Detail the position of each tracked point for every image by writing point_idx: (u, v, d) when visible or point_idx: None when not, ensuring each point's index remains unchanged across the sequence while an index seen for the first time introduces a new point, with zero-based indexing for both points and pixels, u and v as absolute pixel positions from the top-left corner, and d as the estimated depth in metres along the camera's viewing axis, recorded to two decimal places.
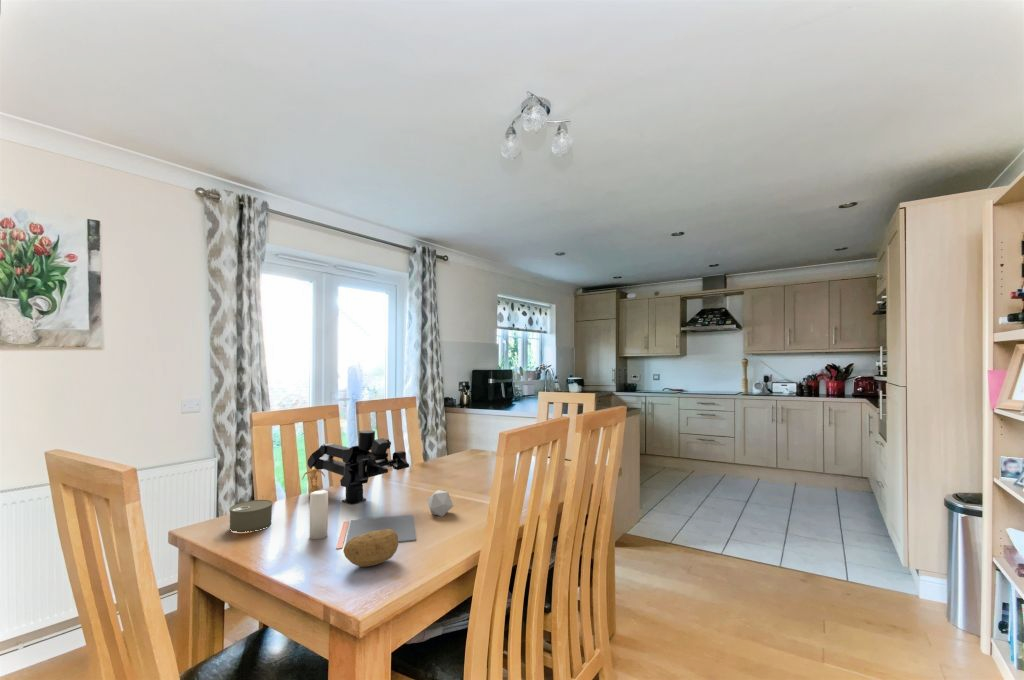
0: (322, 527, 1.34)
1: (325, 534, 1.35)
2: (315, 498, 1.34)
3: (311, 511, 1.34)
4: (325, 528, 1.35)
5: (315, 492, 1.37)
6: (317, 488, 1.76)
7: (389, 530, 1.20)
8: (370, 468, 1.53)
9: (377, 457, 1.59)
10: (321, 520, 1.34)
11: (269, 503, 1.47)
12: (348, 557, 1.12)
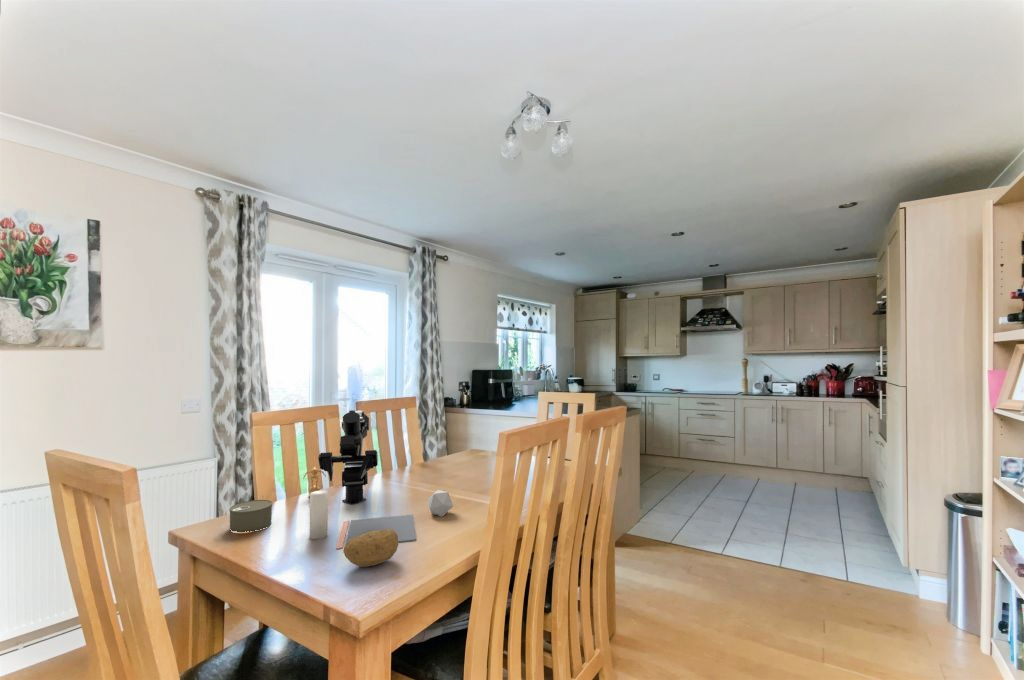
0: (322, 527, 1.34)
1: (325, 534, 1.35)
2: (315, 498, 1.34)
3: (311, 511, 1.34)
4: (325, 528, 1.35)
5: (315, 492, 1.37)
6: (317, 488, 1.76)
7: (389, 530, 1.20)
8: (326, 465, 1.49)
9: (343, 452, 1.51)
10: (321, 520, 1.34)
11: (269, 503, 1.47)
12: (348, 557, 1.12)
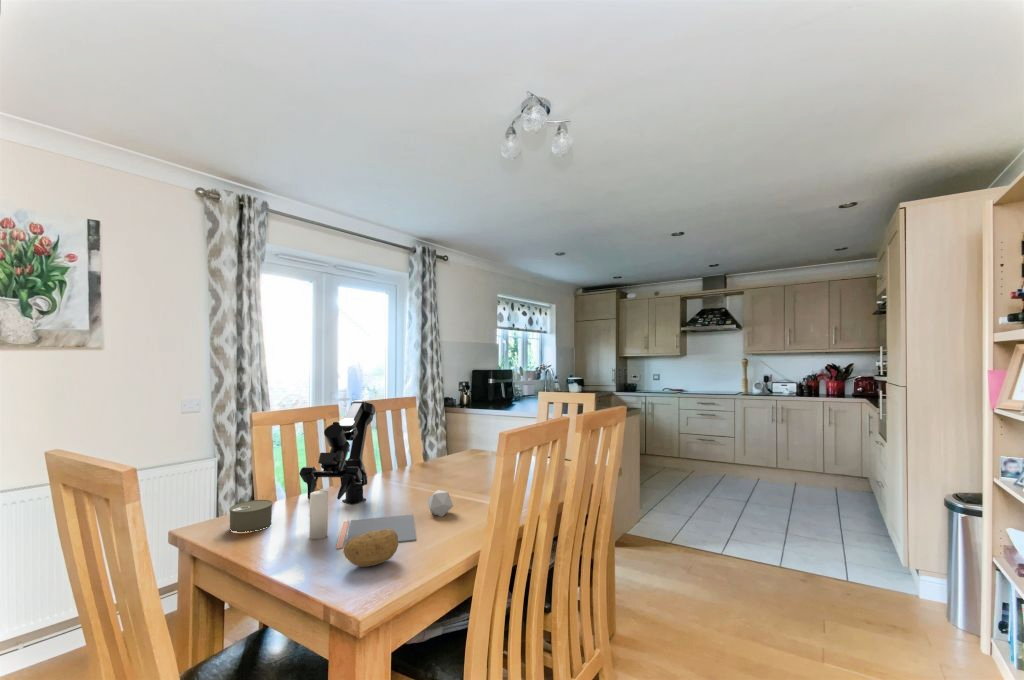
0: (322, 527, 1.34)
1: (325, 534, 1.35)
2: (315, 498, 1.34)
3: (311, 511, 1.34)
4: (325, 528, 1.35)
5: (315, 492, 1.37)
6: (317, 488, 1.76)
7: (389, 530, 1.20)
8: None
9: (325, 467, 1.45)
10: (321, 520, 1.34)
11: (269, 503, 1.47)
12: (348, 557, 1.12)
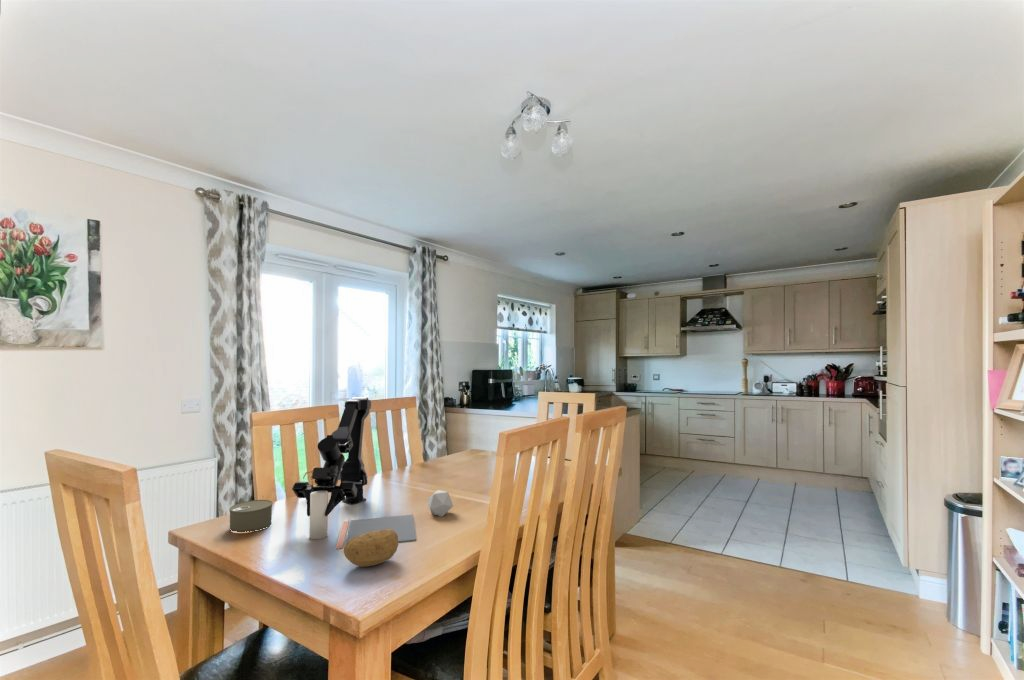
0: (322, 527, 1.34)
1: (325, 534, 1.35)
2: (315, 498, 1.34)
3: (311, 511, 1.34)
4: (325, 528, 1.35)
5: (315, 492, 1.37)
6: None
7: (389, 530, 1.20)
8: None
9: (318, 482, 1.40)
10: (321, 520, 1.34)
11: (269, 503, 1.47)
12: (348, 557, 1.12)
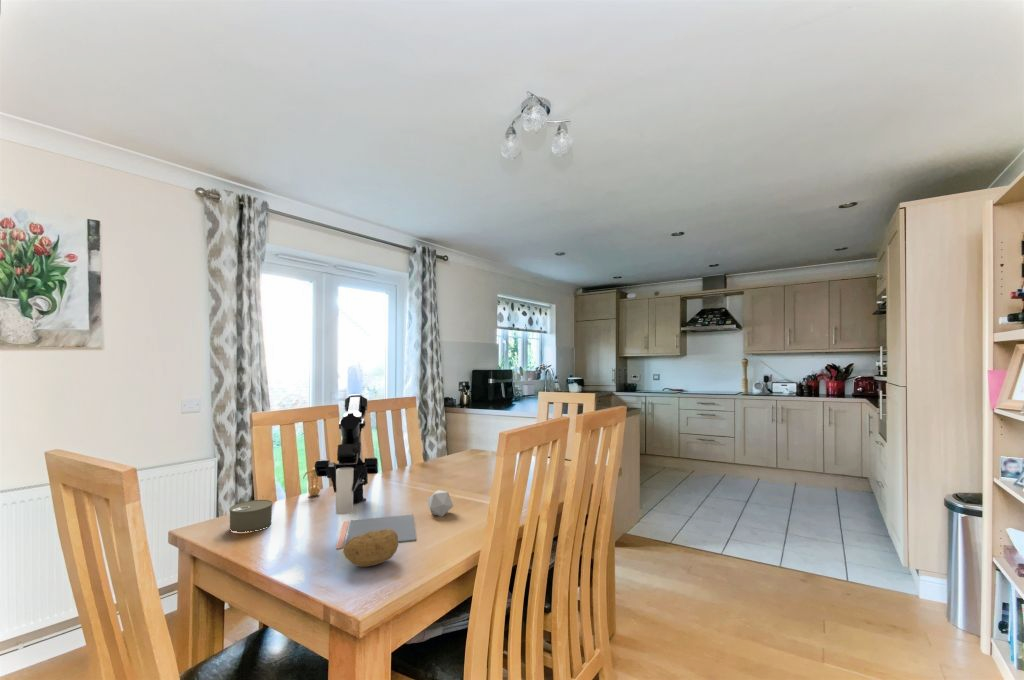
0: (350, 502, 1.36)
1: (352, 509, 1.37)
2: (343, 473, 1.35)
3: (338, 487, 1.35)
4: (352, 503, 1.37)
5: (340, 468, 1.38)
6: (317, 488, 1.76)
7: (389, 530, 1.20)
8: (330, 473, 1.40)
9: (341, 460, 1.41)
10: (348, 496, 1.36)
11: (269, 503, 1.47)
12: (348, 557, 1.12)
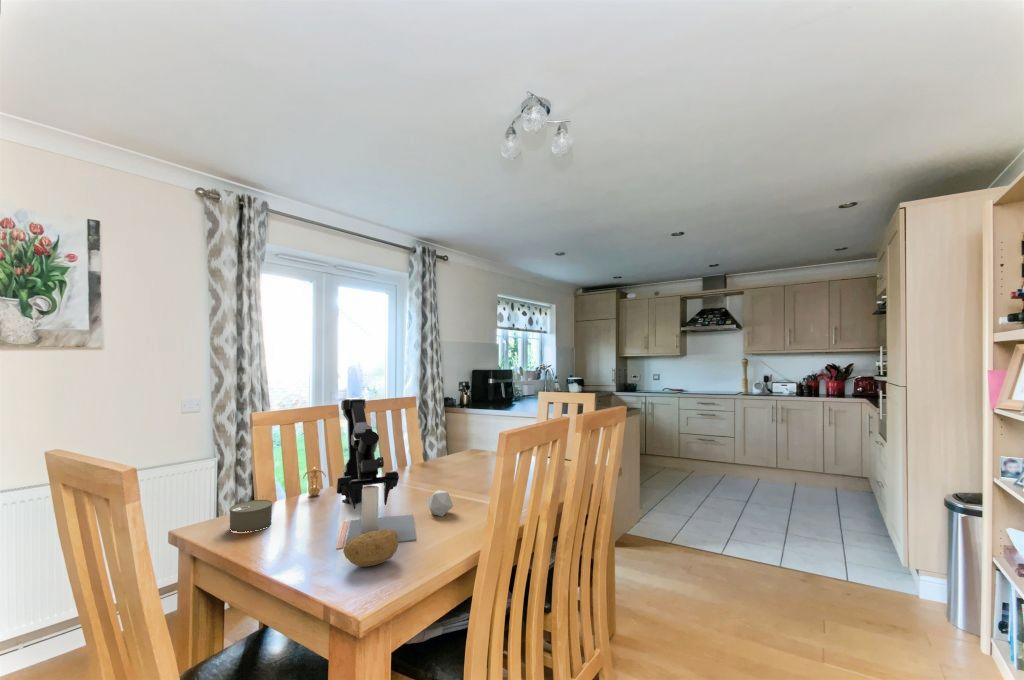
0: (376, 520, 1.39)
1: (377, 527, 1.40)
2: (371, 492, 1.38)
3: (366, 506, 1.37)
4: (377, 521, 1.40)
5: (365, 488, 1.40)
6: (317, 488, 1.76)
7: (389, 530, 1.20)
8: (346, 490, 1.40)
9: (362, 475, 1.42)
10: (375, 514, 1.38)
11: (269, 503, 1.47)
12: (348, 557, 1.12)
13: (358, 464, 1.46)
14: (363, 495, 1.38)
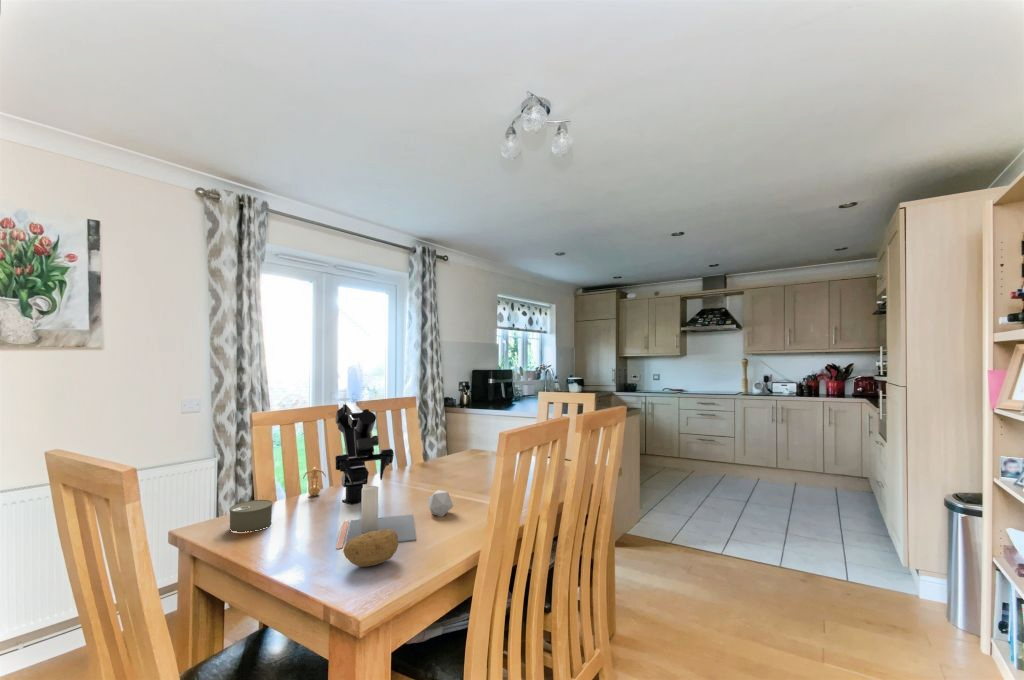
0: (376, 520, 1.39)
1: (377, 527, 1.40)
2: (370, 492, 1.37)
3: (366, 506, 1.37)
4: (377, 521, 1.40)
5: (365, 488, 1.40)
6: (317, 488, 1.76)
7: (389, 530, 1.20)
8: (343, 466, 1.49)
9: (359, 453, 1.51)
10: (375, 514, 1.38)
11: (269, 503, 1.47)
12: (348, 557, 1.12)
13: (355, 442, 1.55)
14: (363, 495, 1.38)
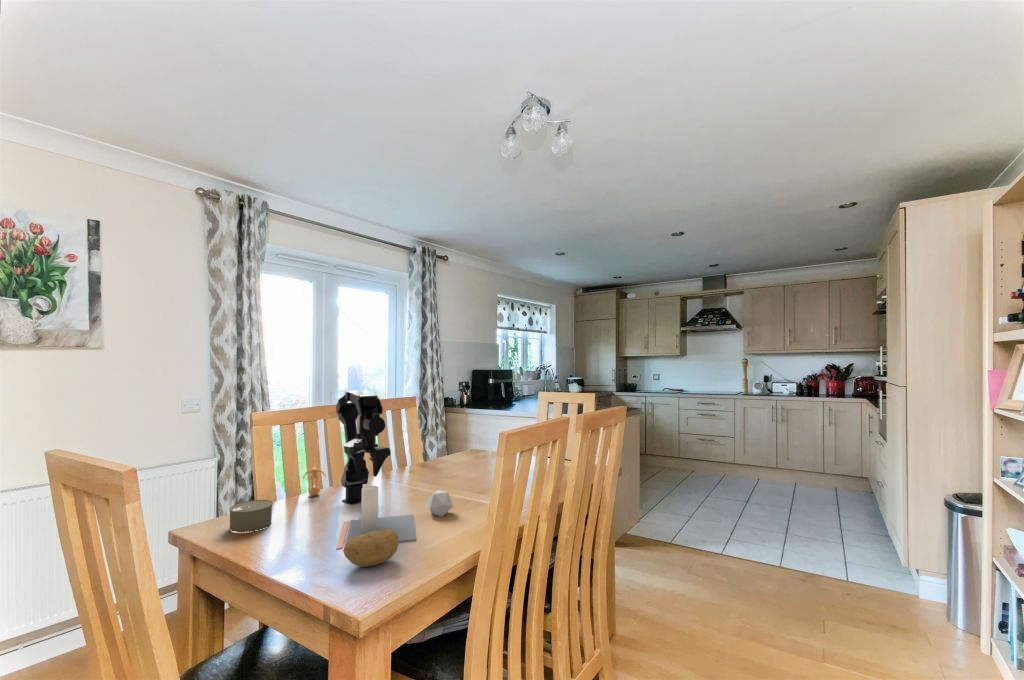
0: (376, 520, 1.39)
1: (377, 527, 1.40)
2: (370, 492, 1.38)
3: (366, 506, 1.37)
4: (377, 521, 1.40)
5: (365, 488, 1.40)
6: (317, 488, 1.76)
7: (389, 530, 1.20)
8: None
9: None
10: (375, 514, 1.38)
11: (269, 503, 1.47)
12: (348, 557, 1.12)
13: None
14: (363, 495, 1.38)
